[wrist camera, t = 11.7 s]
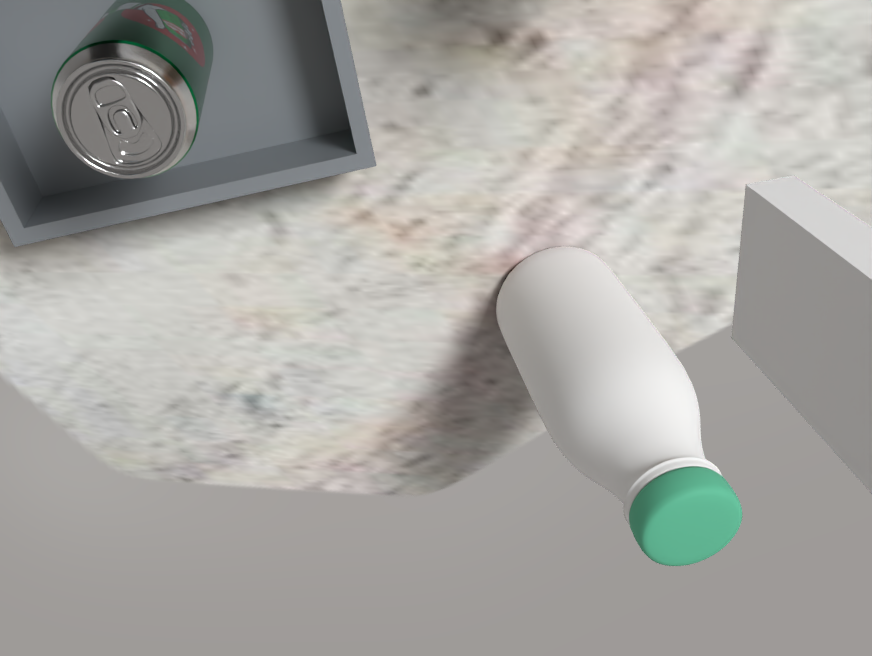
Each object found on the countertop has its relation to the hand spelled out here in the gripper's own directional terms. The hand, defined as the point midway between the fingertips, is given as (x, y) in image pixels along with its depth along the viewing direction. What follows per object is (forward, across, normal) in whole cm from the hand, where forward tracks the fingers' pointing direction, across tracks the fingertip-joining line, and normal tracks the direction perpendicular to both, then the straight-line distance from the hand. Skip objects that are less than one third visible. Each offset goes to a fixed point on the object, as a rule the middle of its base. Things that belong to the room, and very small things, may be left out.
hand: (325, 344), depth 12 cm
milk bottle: (+32, +12, -20) cm, 40 cm away
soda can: (+31, -6, -2) cm, 32 cm away
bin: (+32, -6, -2) cm, 33 cm away
